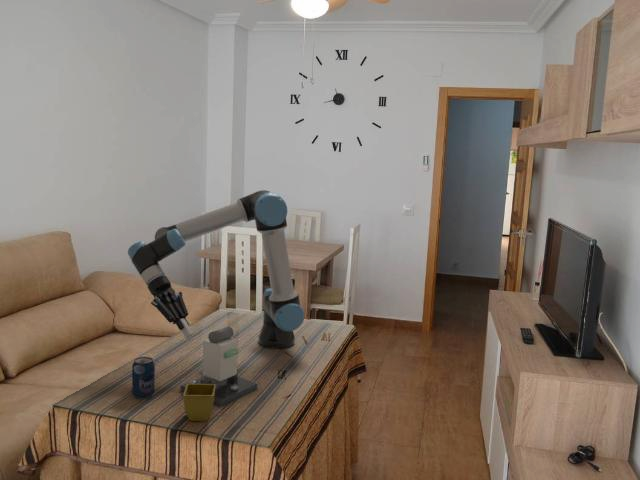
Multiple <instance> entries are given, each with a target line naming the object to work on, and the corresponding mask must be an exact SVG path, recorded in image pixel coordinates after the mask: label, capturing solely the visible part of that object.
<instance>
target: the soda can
mask: <svg viewBox="0 0 640 480" xmlns="http://www.w3.org/2000/svg"><path fill="white" fill-rule="evenodd" d="M131 368H132V369H131V372H132V373H131V375H132V376H131V378H132V379H131V392H132V395H133V397H134V398H135V399H137V398H139V400H145V399H149V398H151V397H152V396H154V393H155V392H156V391H155V387H156V384H155V383H156V381H155V380H156V378H155V377H156V376H155V374H156V371H155V370H156V369H155V368H156V365H155V362H154V358H152V357H149V356H141V357H137V358H135V359H134V360H133V363H132V366H131Z"/></svg>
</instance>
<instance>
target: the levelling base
mask: <svg viewBox="0 0 640 480" xmlns="http://www.w3.org/2000/svg"><path fill="white" fill-rule="evenodd" d="M187 384H212V378H210V377H207V376H204V375H202V376H201V377H198V378H196V379H191V380H189V381H187V382H185V383H184V384H181V385H179V386H180V387H179V388H180V389H179V391H180V392H181V393H184V391H185V389H186V386H187ZM215 384H216V388H215V396H214V402H213V406H214V405H215V406H217V407H220V408H221V407H223V406H225V405H227V404H229V403H231V402H233V401H235V400H238V399H240V398H242V397H244V396H246V395H248V394H250V393H253V392H254V391H256V390H258V385H259V384H258V383H257V382H254V381H252V380H248V379H246V378H243V377H241V376H239V369H238V368H237V374H236V375H234V376H232V377H229V378H227V379H225V380H222V381H219V382H217V383H215Z"/></svg>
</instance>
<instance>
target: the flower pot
mask: <svg viewBox="0 0 640 480" xmlns="http://www.w3.org/2000/svg"><path fill="white" fill-rule="evenodd" d="M215 388H216V384H187V386H186V389H185V391H184V392H183V395H182V396H183V406H184V407H183V408H184V412H185V414H186V417H187V418H188V420H189V421H190V422H197V421H198V422H207V421H208V420H209V418H210V416H211V414H212V411H213V406H214V404H213V402H214V396H215Z"/></svg>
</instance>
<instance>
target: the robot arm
mask: <svg viewBox="0 0 640 480" xmlns="http://www.w3.org/2000/svg"><path fill="white" fill-rule="evenodd" d="M287 215H288V206H287V203H286V201H285V200H284V199H283V197H282V196H280V195H279V194H277V193H274V192H271V191H269V190H263V189H262V190H258V191H255V192H253V193H250V194H248V195H246V196H243V197H241V198H238V199H237V200H236V202H234V203H232V204H231V203H230V204H229V205H225V206H223V207H220V208H218V209H215V210H212V211H211V210H210V211H209V212H207V213H204V214H200V215H198V216H195V217H191V218H188V219H186V220H184V221H181V222H178V223H176V224H172V225H170V226H163V227H160V228H158V229H157V230H156V231H155V233H154V240H152V241H150V242H149V243H146V242H145V241H143V240H139V241H138V242H135V243H133V244H132V245H130V247H129V248H128V250H127V254H128V256H129V259H130V260H131V263H132V264H133V266H134V268H135V269H136V270H137V272H138V274H139V275H140V277H141V279H142V280H143V282H144V284H145V285H146V287H147V289H148V291H149V292H150V294H151V295H152V296H153V300H151V302H150V304H151V305H152V306H153V307H154V308H156V309H157V310H158V312H159V313H160V314H161V315H162V316H163V317H164V318H165V319H166V320H167V321H168V322H169V323H171V324H173V325H176V327H177V328H178V329H179V331H181V333H182V334H183V336H184V338H185V339H186V340H187V339H190V338H191V337H192V336H193V334H194V332H193V331H192V329H191V326H190V323H189V321H188V320H187V317H188V316H189V311H188V308H187V306H186V304H185V301H184V298H183V292H182V291H177V292H176V291H175V289H174V288H172V283H171V281H170V280H169V278H168V277H167V275H166V273H165V271H164V270H163V268H162V266H161V264H159V262H161V261H163V260H164V259H166V258H168V257H169V256H171V255H173V254H174V253H176V252H178V251H180V250H181V249H182V248H184V247H185V246H186V242H188V241H190V240H193V239H197V238H199V237H201V236H204V235H208V234H211V233H213V232H217V231H218V230H221V229H224V228H227V227H230V226H232V225H235V224H237V223H240V222H245V223H249V222H251V221H255V227H256V231H257V232H258V233H259V234H261V239H262V243H263V248H264V249H263V250H264V254H265V255H264V256H265V261H266V266H267V267H266V268H267V271H268V272H267V273H268V277H269V284H270V288H267V289H265V290H264V295H263V317H262V318H263V322H262V323H263V324H262V327H261V329H260V332H259V335H258V339H257V340H258V341H257V342H258V344H260V345H261V346H262V347H266V348H271V349H286V348H290V347H292V346H293V345H295V342H296V341H295V340H296V338H295V337H296V336H295V333H294V331H295V330H297V329H299V328H300V327H301V326H302V324H303V323H304V321H305V311H304V308H303V307H302V306H301V303H300V295H299V294H300V293H299V292H298V291H297V290H296V289H294V288H295V287H294V283H293V278H292V277H293V276H292V272H291V266H290V260H289V253H288V247H287V241H286V235H285V234H286V233H285V229H286V228H287V226H288V223H287Z"/></svg>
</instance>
